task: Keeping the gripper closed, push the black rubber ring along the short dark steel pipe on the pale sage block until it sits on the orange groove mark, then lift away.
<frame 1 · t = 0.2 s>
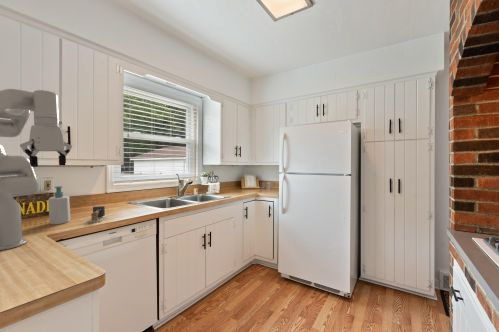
hand: (48, 165, 96), 37 cm above the worktop, tool pointing down, fingers open, 9 cm apart
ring: (98, 211, 153), point 5 cm above the worktop, slide at 2.5 cm
pipe rig: (97, 220, 151), on the worktop
soap bottle: (60, 222, 146), on the worktop
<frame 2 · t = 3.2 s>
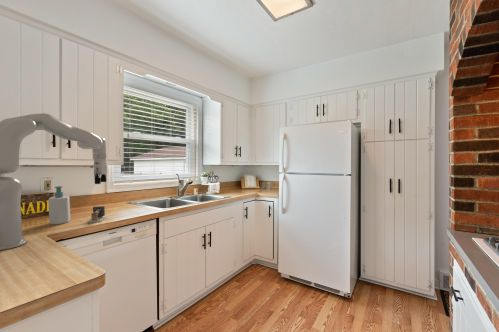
hand: (100, 183, 156), 23 cm above the worktop, tool pointing down, fingers open, 9 cm apart
nothing on the worktop moved.
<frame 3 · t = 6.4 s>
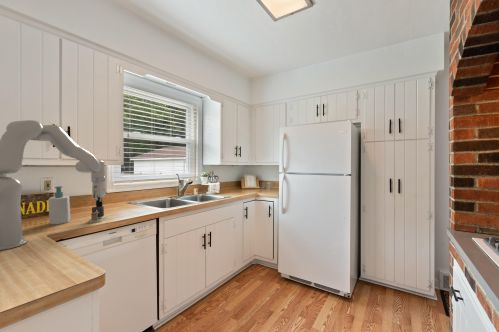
hand: (99, 207, 154), 7 cm above the worktop, tool pointing down, fingers closed
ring: (98, 211, 151), point 5 cm above the worktop, slide at 1.1 cm, touching gripper
everything else where it was.
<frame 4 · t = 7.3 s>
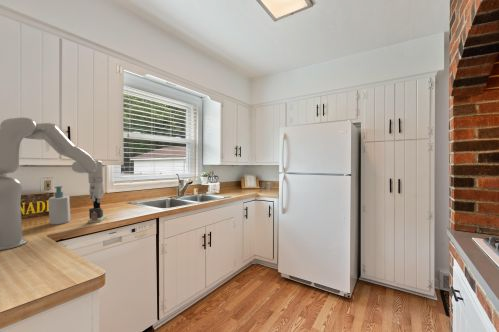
hand: (96, 209, 150), 7 cm above the worktop, tool pointing down, fingers closed
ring: (95, 213, 148), point 5 cm above the worktop, slide at -2.9 cm, touching gripper
everything else where it was.
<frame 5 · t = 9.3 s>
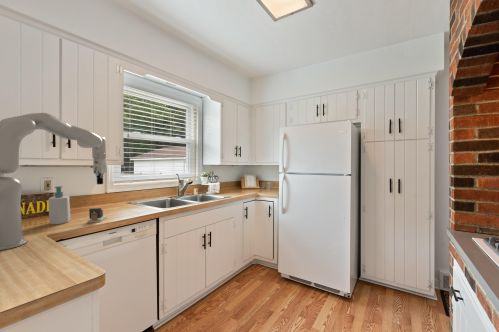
hand: (100, 184, 156), 22 cm above the worktop, tool pointing down, fingers closed
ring: (95, 213, 148), point 5 cm above the worktop, slide at -2.9 cm
everything else where it was.
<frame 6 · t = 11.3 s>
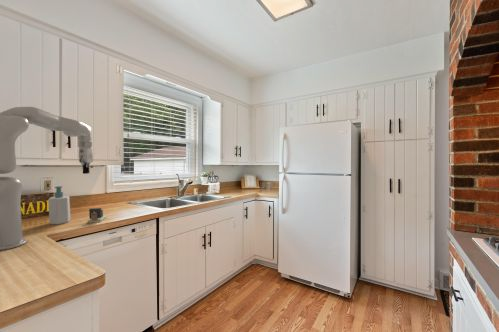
hand: (86, 173, 155), 29 cm above the worktop, tool pointing down, fingers closed
nothing on the worktop moved.
at the end: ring slide at -2.9 cm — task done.
